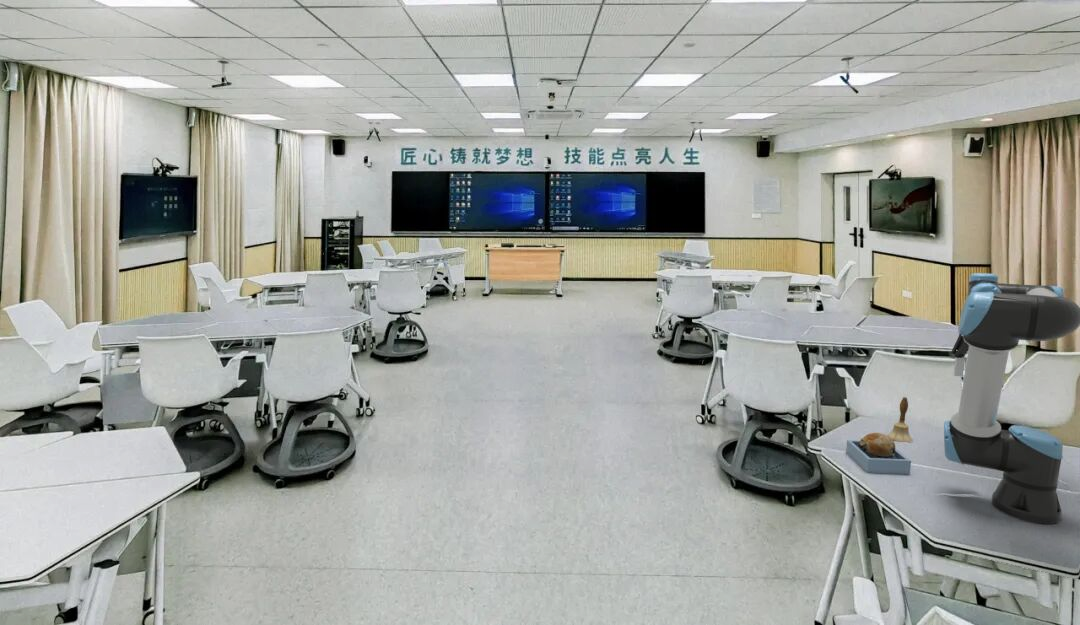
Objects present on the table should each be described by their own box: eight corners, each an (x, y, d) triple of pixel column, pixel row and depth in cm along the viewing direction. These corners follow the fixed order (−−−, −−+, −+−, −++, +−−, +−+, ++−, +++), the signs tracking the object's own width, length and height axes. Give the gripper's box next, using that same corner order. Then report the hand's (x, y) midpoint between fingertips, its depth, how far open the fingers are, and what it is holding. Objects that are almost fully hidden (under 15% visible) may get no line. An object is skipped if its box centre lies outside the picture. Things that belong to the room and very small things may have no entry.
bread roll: (885, 469, 187) (899, 450, 184) (854, 449, 192) (867, 431, 189) (888, 459, 195) (903, 440, 192) (858, 440, 200) (872, 422, 197)
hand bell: (912, 437, 218) (917, 396, 216) (912, 444, 211) (917, 402, 209) (887, 432, 223) (891, 392, 220) (886, 439, 216) (890, 398, 213)
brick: (895, 469, 188) (896, 458, 187) (872, 468, 189) (873, 457, 188) (880, 457, 198) (881, 445, 197) (858, 456, 199) (859, 445, 198)
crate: (909, 477, 185) (911, 460, 184) (866, 475, 186) (868, 459, 185) (885, 456, 201) (886, 441, 200) (845, 455, 202) (847, 440, 201)
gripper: (1017, 327, 180) (1007, 392, 184) (966, 313, 205) (959, 371, 208) (991, 326, 181) (982, 392, 185) (944, 313, 206) (937, 371, 209)
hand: (970, 381), depth 197 cm, fingers open, 13 cm apart
